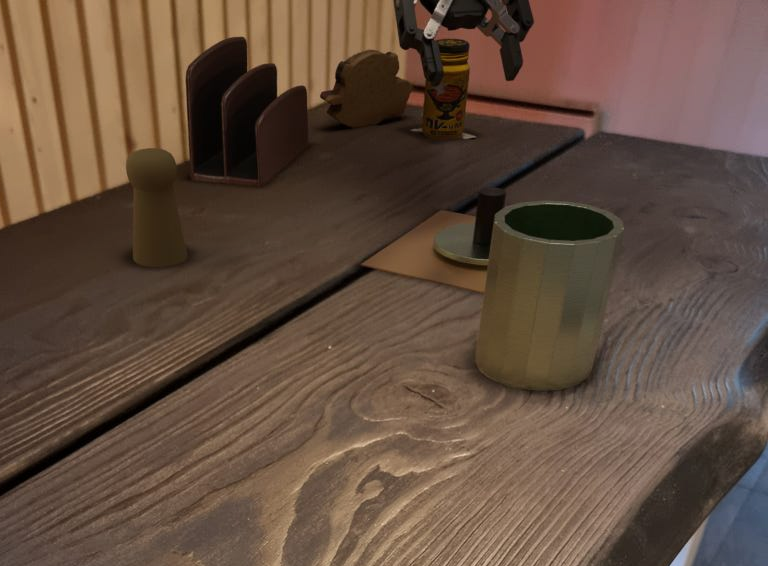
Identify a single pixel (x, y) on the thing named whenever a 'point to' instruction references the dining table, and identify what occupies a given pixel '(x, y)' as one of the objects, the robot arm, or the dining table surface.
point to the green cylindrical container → (546, 293)
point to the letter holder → (241, 118)
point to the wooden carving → (367, 89)
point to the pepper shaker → (155, 209)
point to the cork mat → (430, 256)
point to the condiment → (448, 94)
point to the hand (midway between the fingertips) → (476, 78)
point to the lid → (472, 231)
